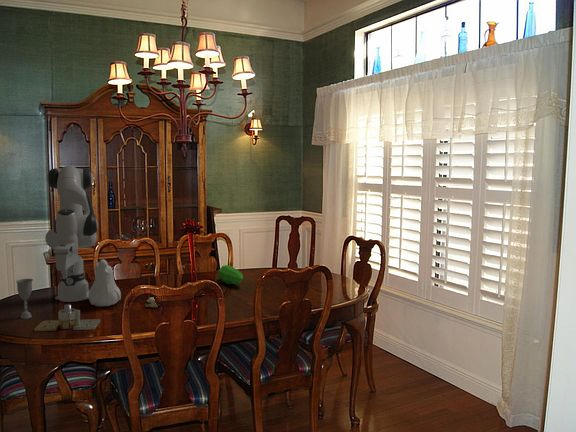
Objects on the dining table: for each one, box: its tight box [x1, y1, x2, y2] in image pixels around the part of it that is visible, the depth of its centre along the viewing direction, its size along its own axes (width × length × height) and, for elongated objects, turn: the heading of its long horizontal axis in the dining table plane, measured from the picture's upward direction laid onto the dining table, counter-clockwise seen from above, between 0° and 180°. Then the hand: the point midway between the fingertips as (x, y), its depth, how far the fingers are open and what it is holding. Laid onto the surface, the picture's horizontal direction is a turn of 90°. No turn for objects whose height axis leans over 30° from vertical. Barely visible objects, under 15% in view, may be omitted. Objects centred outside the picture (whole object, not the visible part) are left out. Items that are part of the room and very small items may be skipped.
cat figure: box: [144, 296, 194, 308], centre depth 262 cm, size 10×9×25 cm
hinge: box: [33, 307, 101, 332], centre depth 226 cm, size 11×25×7 cm, turn 97°
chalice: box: [15, 278, 34, 320], centre depth 238 cm, size 7×7×18 cm
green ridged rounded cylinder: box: [218, 264, 244, 285], centre depth 307 cm, size 11×12×30 cm
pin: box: [63, 303, 72, 313], centre depth 226 cm, size 3×3×10 cm
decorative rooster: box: [88, 259, 122, 307], centre depth 262 cm, size 25×16×25 cm, turn 19°
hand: (68, 276), depth 224 cm, fingers open, 8 cm apart
